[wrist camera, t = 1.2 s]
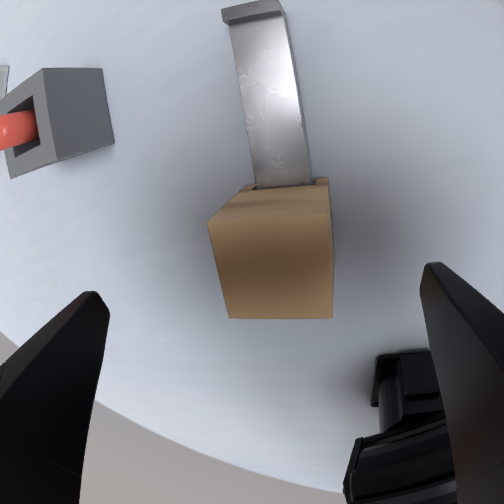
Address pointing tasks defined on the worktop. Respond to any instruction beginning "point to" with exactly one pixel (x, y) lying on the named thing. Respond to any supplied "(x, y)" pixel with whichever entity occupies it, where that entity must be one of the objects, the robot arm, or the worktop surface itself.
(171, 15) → the worktop surface
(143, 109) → the worktop surface
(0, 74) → the ink box
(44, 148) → the grey button housing
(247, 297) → the block
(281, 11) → the rail
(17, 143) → the red peg
